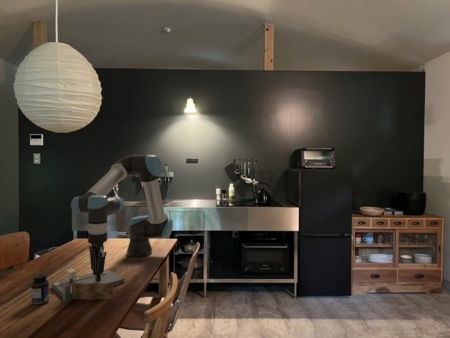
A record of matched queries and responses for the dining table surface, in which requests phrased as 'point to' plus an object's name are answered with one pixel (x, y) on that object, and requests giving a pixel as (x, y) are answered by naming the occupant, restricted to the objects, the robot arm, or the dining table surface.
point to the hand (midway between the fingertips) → (97, 288)
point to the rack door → (92, 290)
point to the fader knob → (71, 274)
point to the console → (88, 281)
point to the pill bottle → (40, 290)
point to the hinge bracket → (66, 293)
